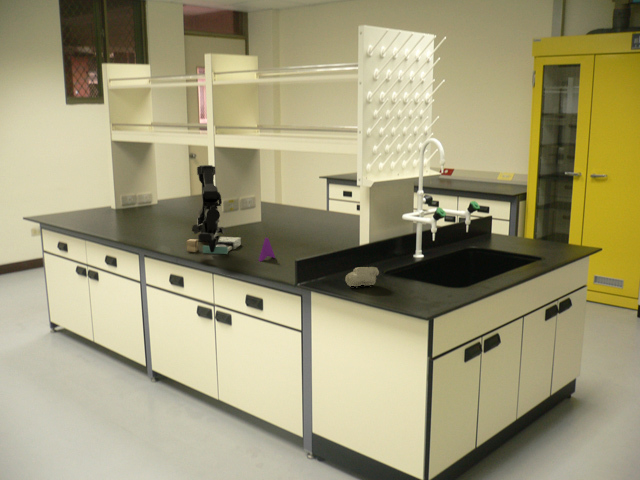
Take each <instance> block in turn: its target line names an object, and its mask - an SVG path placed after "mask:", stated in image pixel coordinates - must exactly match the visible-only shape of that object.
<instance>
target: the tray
mask: <svg viewBox="0 0 640 480" xmlns="http://www.w3.org/2000/svg"><path fill="white" fill-rule="evenodd" d="M231 250H233V245H226V247H220V246H216V248H215V250H214V252H211V251H210V248H209V245H202V253H203V254H216V255H217V254H222V255H228V254H229V252H230V251H231Z"/></svg>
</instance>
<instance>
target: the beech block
mask: <svg viewBox="0 0 640 480" xmlns="http://www.w3.org/2000/svg"><path fill="white" fill-rule="evenodd" d="M198 251H199V241H198V238H197V239H194V238H192V239H191V238H190V239H188V240H186V252H193V253H195V252H198Z"/></svg>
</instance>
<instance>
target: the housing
mask: <svg viewBox="0 0 640 480" xmlns="http://www.w3.org/2000/svg"><path fill="white" fill-rule="evenodd" d="M241 239H242V237H233V236H220V238H219V241H218V243H217V245H218V244H222V245H226V246H232V250H236V249H237V248H238V247H240V246H241V242H242V240H241Z"/></svg>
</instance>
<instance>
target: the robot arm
mask: <svg viewBox="0 0 640 480" xmlns="http://www.w3.org/2000/svg"><path fill="white" fill-rule="evenodd" d="M216 173H217V172H216V166H214V165H212V164H209V165H208V164H205V165H204V164H203V165H198V166H197V167H196V176H198V180H199V182H200V183H201V208H200V210H199V212H198V216H197V217H196V220H197V221H196V224H193V225H192V227H191V232H193V234H194V235H197V234H198V233H199V234H198V235H197V239H198V242H206V243H207V244H208V245H207V246H209V248H210V251H211V252H214V250H215V248H216V245H218V244H217V243H218V241H219V238H220V237H221V235H222V234H223V235H224V234H225V232H226V231H225V228H224V226H219V223H220V217H221V213H220V211H219V210H218V207H221V205H222V202H223V201H222V195H221V193H220V192H219V190H218V187H217V186H216V185H215V182H214V180H215V177H214V176H215V175H216ZM218 233H220V234H221V235H218Z"/></svg>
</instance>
